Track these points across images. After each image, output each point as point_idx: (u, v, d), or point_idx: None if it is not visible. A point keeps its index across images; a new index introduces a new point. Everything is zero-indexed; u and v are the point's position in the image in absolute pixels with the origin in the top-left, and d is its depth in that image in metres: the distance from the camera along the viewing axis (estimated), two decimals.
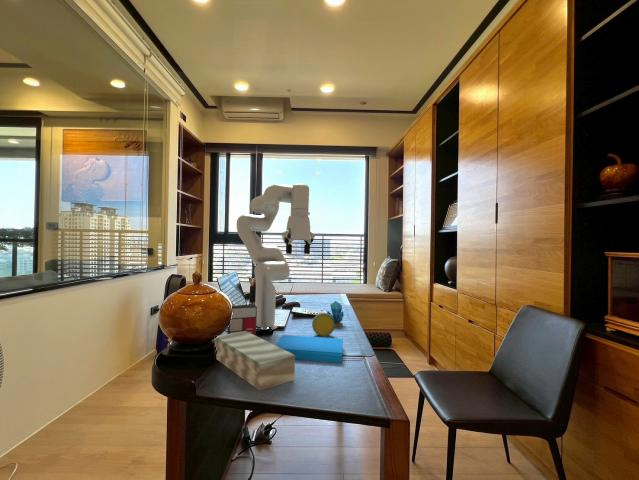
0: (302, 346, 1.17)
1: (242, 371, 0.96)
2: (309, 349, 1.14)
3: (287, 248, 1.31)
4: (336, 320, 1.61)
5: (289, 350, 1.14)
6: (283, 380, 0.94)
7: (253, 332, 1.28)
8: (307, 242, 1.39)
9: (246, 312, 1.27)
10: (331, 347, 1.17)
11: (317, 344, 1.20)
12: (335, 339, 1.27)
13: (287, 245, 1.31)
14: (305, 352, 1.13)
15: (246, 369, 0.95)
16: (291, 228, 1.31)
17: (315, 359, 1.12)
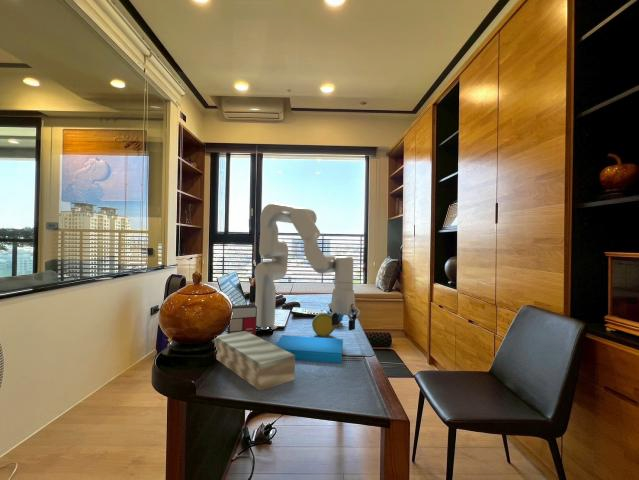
0: (302, 346, 1.17)
1: (242, 371, 0.96)
2: (309, 349, 1.14)
3: (354, 324, 1.28)
4: None
5: (289, 350, 1.13)
6: (283, 380, 0.94)
7: (253, 332, 1.28)
8: (334, 313, 1.36)
9: (246, 312, 1.27)
10: (331, 347, 1.17)
11: (317, 344, 1.20)
12: (335, 339, 1.27)
13: (353, 321, 1.28)
14: (305, 352, 1.13)
15: (246, 369, 0.95)
16: (354, 303, 1.29)
17: (315, 359, 1.12)
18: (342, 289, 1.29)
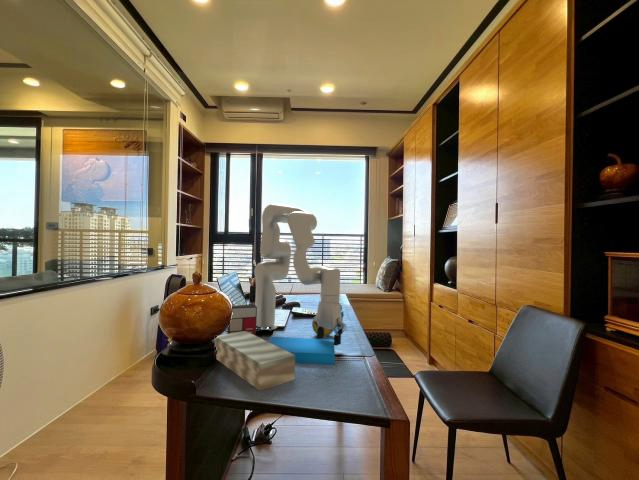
0: (293, 348, 1.15)
1: (242, 371, 0.96)
2: (301, 351, 1.12)
3: (339, 339, 1.23)
4: None
5: None
6: (283, 380, 0.94)
7: (253, 332, 1.28)
8: (320, 326, 1.31)
9: (246, 312, 1.27)
10: (323, 348, 1.15)
11: (308, 345, 1.18)
12: (326, 340, 1.25)
13: (339, 336, 1.23)
14: (297, 354, 1.11)
15: (246, 369, 0.95)
16: (340, 316, 1.24)
17: (307, 361, 1.10)
18: (328, 302, 1.23)
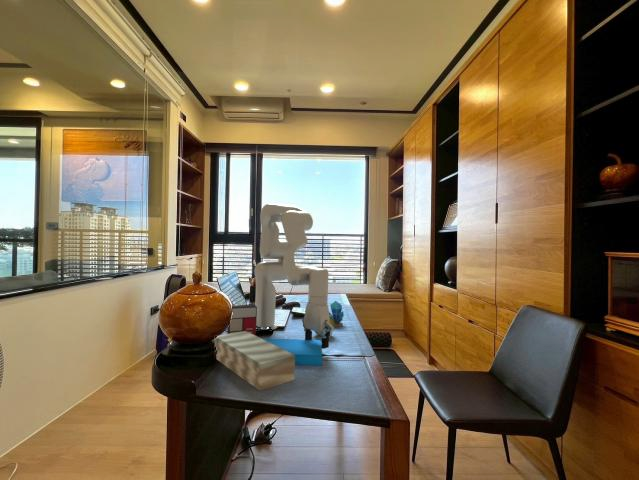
0: None
1: (242, 371, 0.96)
2: None
3: (327, 342, 1.19)
4: (336, 320, 1.61)
5: None
6: (283, 380, 0.94)
7: (253, 332, 1.28)
8: (308, 328, 1.26)
9: (246, 312, 1.27)
10: (310, 349, 1.14)
11: (295, 347, 1.16)
12: (313, 341, 1.24)
13: (327, 339, 1.18)
14: None
15: (246, 369, 0.95)
16: (328, 319, 1.20)
17: None
18: (315, 304, 1.19)
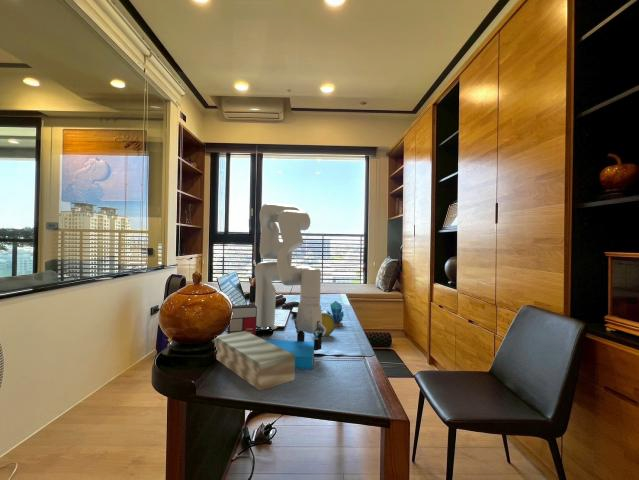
0: None
1: (242, 371, 0.96)
2: None
3: (319, 344, 1.15)
4: (336, 320, 1.61)
5: None
6: (283, 380, 0.94)
7: (253, 332, 1.28)
8: (300, 330, 1.23)
9: (246, 312, 1.27)
10: (301, 351, 1.10)
11: (286, 348, 1.13)
12: (306, 342, 1.20)
13: (319, 340, 1.15)
14: None
15: (246, 369, 0.95)
16: (320, 320, 1.17)
17: None
18: (307, 305, 1.16)
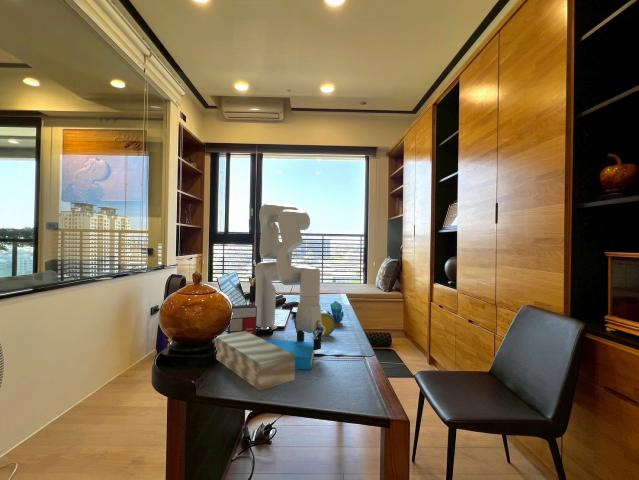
0: None
1: (242, 371, 0.96)
2: None
3: (319, 343, 1.15)
4: (336, 320, 1.61)
5: None
6: (283, 380, 0.94)
7: (253, 332, 1.28)
8: (300, 330, 1.23)
9: (246, 312, 1.27)
10: (300, 351, 1.10)
11: (286, 348, 1.12)
12: (306, 342, 1.19)
13: (319, 340, 1.15)
14: None
15: (246, 369, 0.95)
16: (320, 319, 1.16)
17: None
18: (307, 304, 1.16)
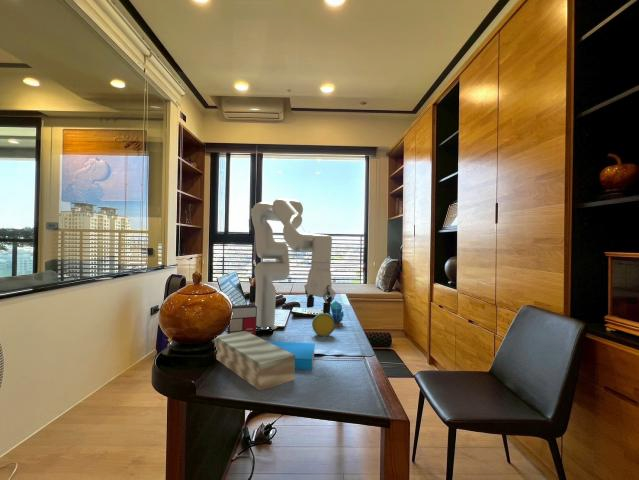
0: None
1: (242, 371, 0.96)
2: None
3: (328, 307, 1.20)
4: (336, 320, 1.61)
5: None
6: (283, 380, 0.94)
7: (253, 332, 1.28)
8: None
9: (246, 312, 1.27)
10: (301, 353, 1.10)
11: (286, 350, 1.12)
12: (306, 344, 1.20)
13: (329, 304, 1.20)
14: None
15: (246, 369, 0.95)
16: (330, 284, 1.21)
17: None
18: (318, 269, 1.20)
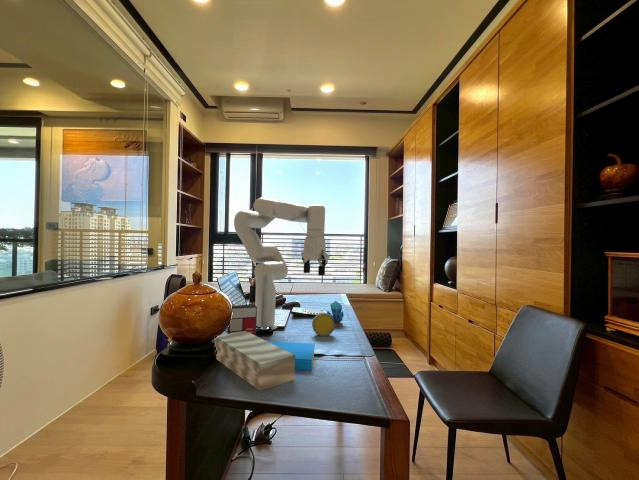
0: None
1: (242, 371, 0.96)
2: None
3: (323, 270, 1.32)
4: (336, 320, 1.61)
5: None
6: (283, 380, 0.94)
7: (253, 332, 1.28)
8: (306, 261, 1.40)
9: (246, 312, 1.27)
10: (301, 353, 1.10)
11: (286, 350, 1.12)
12: (306, 344, 1.19)
13: (323, 267, 1.32)
14: None
15: (246, 369, 0.95)
16: (324, 249, 1.33)
17: None
18: (313, 236, 1.32)
